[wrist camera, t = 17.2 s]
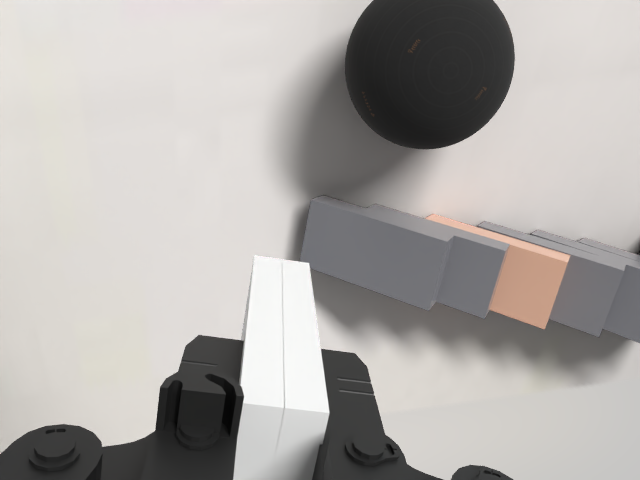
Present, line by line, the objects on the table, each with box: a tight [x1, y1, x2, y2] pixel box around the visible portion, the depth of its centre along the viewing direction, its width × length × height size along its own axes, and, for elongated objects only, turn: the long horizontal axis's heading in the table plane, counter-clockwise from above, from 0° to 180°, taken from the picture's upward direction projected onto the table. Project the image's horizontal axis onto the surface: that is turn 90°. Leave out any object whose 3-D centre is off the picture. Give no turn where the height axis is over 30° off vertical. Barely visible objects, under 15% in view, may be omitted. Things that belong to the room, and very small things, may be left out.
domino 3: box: [425, 214, 571, 330], centre depth 41 cm, size 2×5×10 cm
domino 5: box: [531, 230, 640, 343], centre depth 42 cm, size 2×5×10 cm
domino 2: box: [367, 204, 510, 319], centre depth 41 cm, size 2×5×10 cm
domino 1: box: [300, 195, 454, 311], centre depth 40 cm, size 2×5×10 cm
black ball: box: [345, 0, 515, 149], centre depth 35 cm, size 10×10×10 cm
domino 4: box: [478, 221, 626, 337], centre depth 42 cm, size 2×5×10 cm
